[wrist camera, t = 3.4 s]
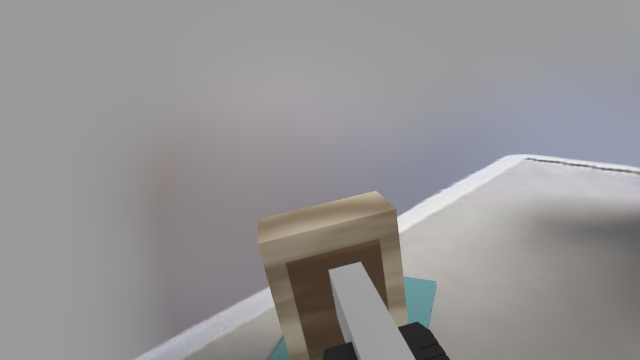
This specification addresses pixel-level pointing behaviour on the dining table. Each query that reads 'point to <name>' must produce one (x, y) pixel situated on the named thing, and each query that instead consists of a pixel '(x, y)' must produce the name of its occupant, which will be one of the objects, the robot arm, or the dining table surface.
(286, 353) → the mat
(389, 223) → the light brown rectangular block
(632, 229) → the dining table surface
